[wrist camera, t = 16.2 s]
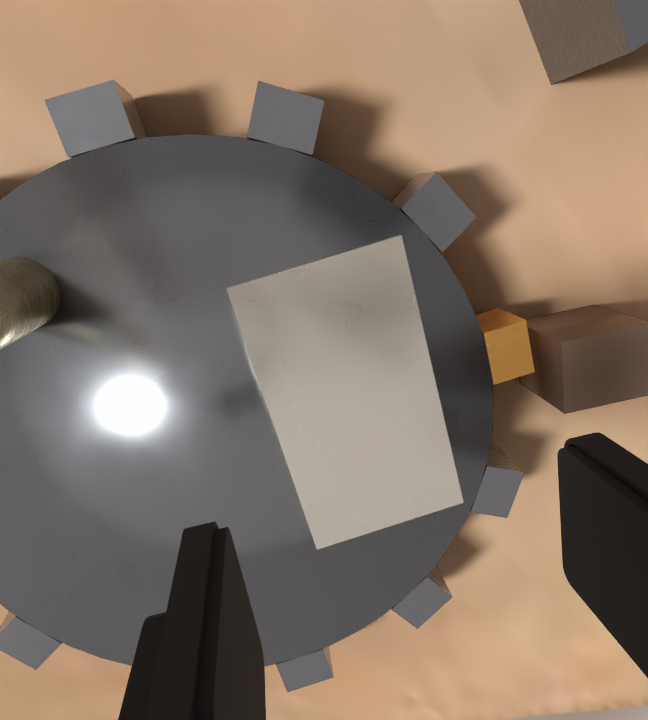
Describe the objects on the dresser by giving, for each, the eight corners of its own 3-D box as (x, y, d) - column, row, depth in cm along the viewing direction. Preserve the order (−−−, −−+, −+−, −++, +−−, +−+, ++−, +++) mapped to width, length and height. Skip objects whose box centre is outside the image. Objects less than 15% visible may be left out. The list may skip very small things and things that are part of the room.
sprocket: (-97, -9, 14) (-517, -256, 6) (591, 192, 18) (840, 186, 10) (-120, 628, 19) (-366, 908, 12) (414, 680, 23) (492, 918, 15)
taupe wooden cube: (595, 304, 19) (653, 323, 16) (596, 366, 20) (653, 394, 17) (516, 321, 19) (561, 342, 16) (520, 383, 20) (564, 413, 17)
